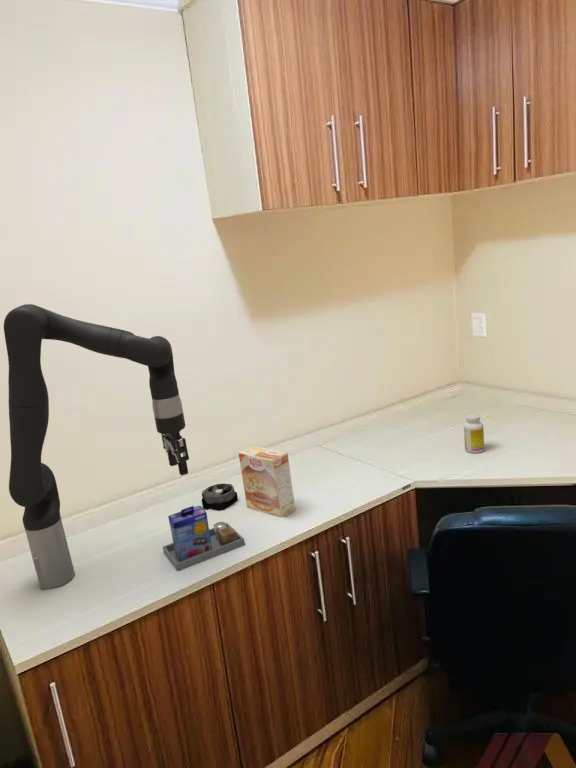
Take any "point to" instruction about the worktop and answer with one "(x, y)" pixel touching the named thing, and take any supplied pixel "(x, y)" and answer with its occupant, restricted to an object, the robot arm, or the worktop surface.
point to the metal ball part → (219, 528)
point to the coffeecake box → (267, 481)
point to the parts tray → (215, 551)
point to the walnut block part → (226, 536)
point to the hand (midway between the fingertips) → (178, 469)
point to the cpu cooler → (219, 497)
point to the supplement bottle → (473, 434)
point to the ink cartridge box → (190, 532)
